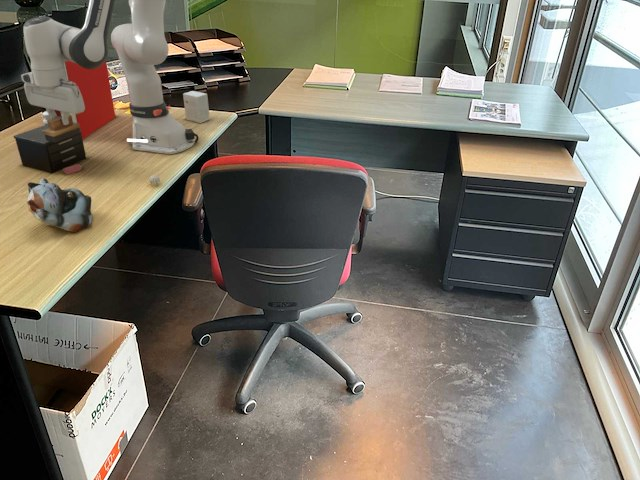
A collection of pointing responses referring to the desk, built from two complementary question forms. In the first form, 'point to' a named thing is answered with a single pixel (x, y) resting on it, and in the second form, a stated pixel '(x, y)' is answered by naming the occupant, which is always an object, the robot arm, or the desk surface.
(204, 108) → the small box
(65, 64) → the book
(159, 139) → the robot arm
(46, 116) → the pill bottle
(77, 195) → the lucky cat figurine
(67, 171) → the eraser
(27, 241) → the desk surface
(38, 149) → the cabinet
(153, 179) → the egg
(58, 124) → the brush
